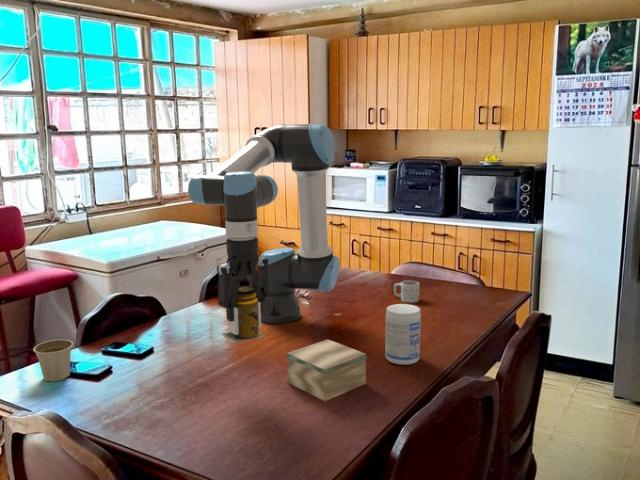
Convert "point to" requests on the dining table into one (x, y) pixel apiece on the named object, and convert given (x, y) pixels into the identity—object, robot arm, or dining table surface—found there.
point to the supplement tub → (402, 334)
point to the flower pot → (54, 359)
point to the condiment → (246, 316)
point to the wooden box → (326, 369)
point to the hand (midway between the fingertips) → (245, 329)
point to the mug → (408, 291)
